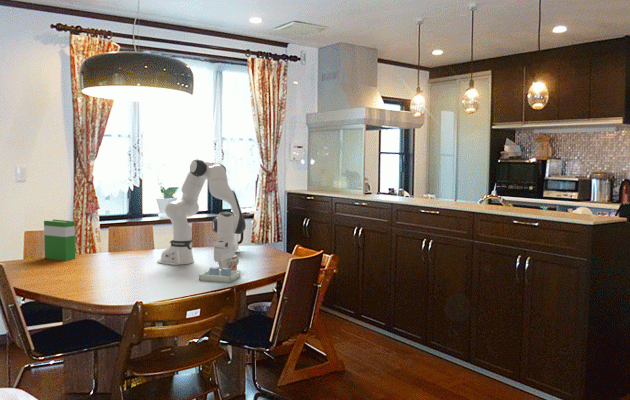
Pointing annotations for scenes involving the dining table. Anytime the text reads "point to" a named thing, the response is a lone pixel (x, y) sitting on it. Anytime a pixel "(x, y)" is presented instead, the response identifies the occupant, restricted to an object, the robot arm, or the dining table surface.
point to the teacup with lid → (232, 263)
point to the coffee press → (237, 238)
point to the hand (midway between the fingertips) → (224, 267)
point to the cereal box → (59, 239)
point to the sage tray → (219, 277)
